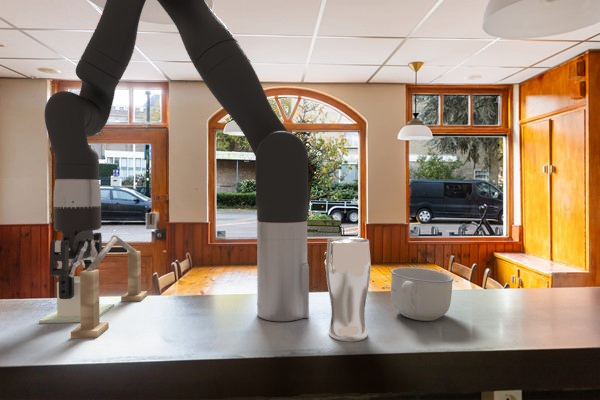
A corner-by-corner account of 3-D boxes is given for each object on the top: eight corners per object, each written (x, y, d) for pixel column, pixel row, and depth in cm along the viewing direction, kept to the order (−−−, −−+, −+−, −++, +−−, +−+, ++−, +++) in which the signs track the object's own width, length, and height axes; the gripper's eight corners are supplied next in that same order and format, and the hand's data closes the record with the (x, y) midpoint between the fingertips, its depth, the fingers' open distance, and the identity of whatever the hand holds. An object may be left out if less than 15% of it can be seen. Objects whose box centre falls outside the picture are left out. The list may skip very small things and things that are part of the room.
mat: (114, 306, 75) (114, 303, 75) (93, 321, 66) (93, 318, 66) (66, 307, 74) (66, 305, 74) (38, 323, 65) (38, 320, 65)
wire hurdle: (147, 295, 83) (146, 229, 83) (97, 337, 59) (96, 243, 59) (128, 296, 83) (127, 229, 82) (70, 338, 59) (69, 243, 58)
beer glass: (369, 344, 56) (370, 243, 56) (323, 341, 57) (323, 242, 57) (370, 328, 63) (370, 237, 62) (328, 325, 64) (328, 236, 64)
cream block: (99, 307, 73) (98, 276, 73) (86, 315, 68) (86, 282, 68) (71, 307, 72) (71, 276, 72) (57, 316, 67) (56, 282, 67)
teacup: (409, 303, 77) (409, 264, 77) (463, 316, 69) (463, 272, 69) (369, 319, 67) (369, 274, 67) (426, 336, 59) (426, 285, 59)
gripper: (79, 205, 63) (81, 303, 63) (114, 203, 77) (115, 282, 78) (32, 206, 62) (33, 304, 63) (76, 203, 77) (77, 283, 77)
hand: (78, 292), depth 70 cm, fingers open, 8 cm apart
